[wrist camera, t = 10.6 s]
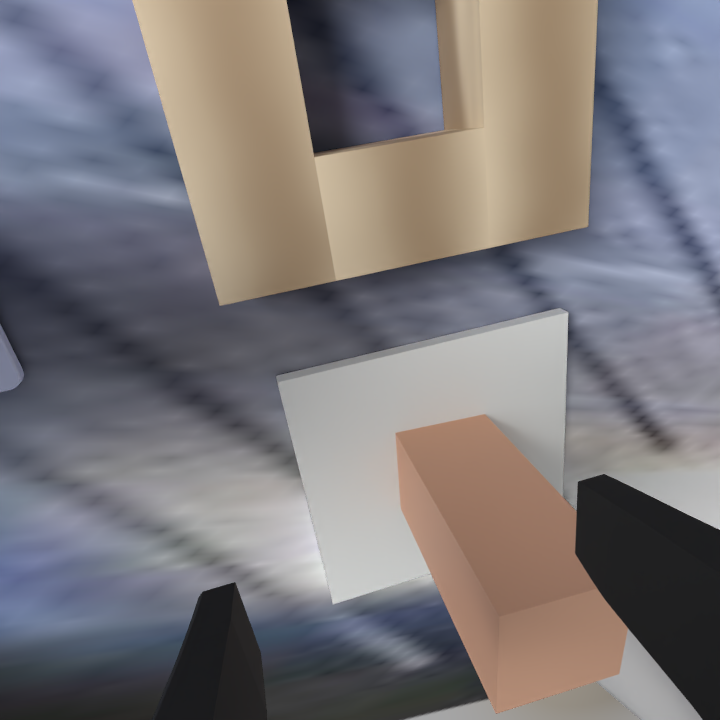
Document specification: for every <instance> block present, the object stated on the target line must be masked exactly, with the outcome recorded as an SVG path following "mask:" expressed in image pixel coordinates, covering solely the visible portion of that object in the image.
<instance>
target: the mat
mask: <svg viewBox="0 0 720 720" xmlns="http://www.w3.org/2000/svg"><path fill="white" fill-rule="evenodd" d="M567 340H568V312H567V311H565V310H563V309H561V308H558V309H553V310H549V311H545V312H541V313H537V314H533V315H528V316H524V317H520V318H516V319H512V320H508V321H503V322H499V323H495V324H491V325H487V326H482V327H478V328H474V329H470V330H466V331H462V332H457V333H453V334H449V335H445V336H441V337H436V338H432V339H428V340H424V341H420V342H416V343H411V344H407V345H403V346H399V347H395V348H390V349H386V350H382V351H378V352H374V353H370V354H365V355H361V356H357V357H353V358H349V359H344V360H340V361H336V362H332V363H328V364H324V365H319V366H315V367H311V368H307V369H303V370H298V371H294V372H290V373H286V374H282V375H278V376H276V379H277V384H278V388H279V392H280V396H281V400H282V404H283V408H284V411H285V415H286V419H287V423H288V427H289V431H290V435H291V439H292V443H293V447H294V451H295V455H296V459H297V463H298V467H299V471H300V475H301V479H302V483H303V487H304V491H305V495H306V499H307V503H308V507H309V511H310V515H311V519H312V523H313V527H314V531H315V535H316V538H317V542H318V546H319V550H320V554H321V558H322V562H323V566H324V570H325V574H326V578H327V582H328V586H329V590H330V594H331V598H332V602H333V604H336V603H339V602H342V601H345V600H349V599H352V598H355V597H358V596H361V595H365V594H368V593H371V592H374V591H377V590H381V589H384V588H387V587H390V586H393V585H397V584H400V583H403V582H406V581H409V580H413V579H416V578H419V577H422V576H425V575H429V574H431V573H430V570H429V568H428V566H427V564H426V562H425V560H424V558H423V555H422V553H421V551H420V549H419V547H418V545H417V542H416V540H415V538H414V536H413V534H412V532H411V530H410V527H409V525H408V523H407V521H406V519H405V517H404V514H403V512H402V510H401V505H400V491H399V477H398V463H397V449H396V435H395V433H397V432H402V431H406V430H411V429H416V428H421V427H426V426H430V425H435V424H440V423H445V422H449V421H454V420H459V419H464V418H469V417H473V416H478V415H483V414H485V415H486V416H487V417H488V418H489V419H490V420H491V421H492V422H493V423H494V424H495V425H496V426H497V427H498V428H499V430H500V431H501V432H502V433H503V434H504V435H505V436H506V437H507V438H508V439H509V440H510V441H511V442H512V443H513V444H514V446H515V447H516V448H517V449H518V450H519V451H520V452H521V453H522V454H523V455H524V456H525V457H526V458H527V459H528V460H529V461H530V463H531V464H532V465H533V466H534V467H535V468H536V469H537V470H538V471H539V472H540V473H541V474H542V475H543V476H544V477H545V479H546V480H547V481H548V482H549V483H550V484H551V485H552V486H553V487H554V488H555V489H556V490H557V491H558V492H559V493H560V495H561V496H562V497H563V481H564V445H565V410H566V375H567Z"/></svg>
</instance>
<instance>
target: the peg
mask: <svg viewBox="0 0 720 720" xmlns="http://www.w3.org/2000/svg"><path fill="white" fill-rule="evenodd" d="M395 435H396V449H397V463H398V477H399V491H400V505H401V510H402V512H403V514H404V517H405V519H406V521H407V523H408V525H409V527H410V530H411V532H412V534H413V536H414V538H415V540H416V542H417V545H418V547H419V549H420V551H421V553H422V555H423V558H424V560H425V562H426V564H427V566H428V568H429V570H430V573H431V575H432V577H433V579H434V581H435V583H436V586H437V588H438V590H439V592H440V594H441V596H442V598H443V601H444V603H445V605H446V607H447V609H448V611H449V614H450V616H451V618H452V620H453V622H454V624H455V626H456V629H457V631H458V633H459V635H460V637H461V639H462V642H463V644H464V646H465V648H466V650H467V652H468V655H469V657H470V659H471V661H472V663H473V665H474V667H475V670H476V672H477V674H478V676H479V678H480V680H481V683H482V685H483V687H484V689H485V691H486V693H487V695H488V698H489V700H490V702H491V704H492V706H493V708H494V710H495V712H496V714H497V713H500V712H503V711H506V710H509V709H513V708H516V707H519V706H522V705H525V704H528V703H531V702H534V701H537V700H540V699H544V698H547V697H550V696H553V695H556V694H559V693H562V692H565V691H568V690H572V689H575V688H578V687H581V686H584V685H587V684H590V683H593V682H596V681H599V680H602V679H606V678H609V677H612V676H615V675H618V674H619V673H620V668H621V662H622V657H623V652H624V647H625V642H626V637H627V631H628V628H627V626H626V625H625V624H624V623H623V621H622V620H621V619H620V618H619V617H618V615H617V614H616V613H615V612H614V610H613V609H612V608H611V607H610V605H609V604H608V603H607V602H606V600H605V599H604V598H603V596H602V595H601V593H600V592H599V590H598V589H597V587H596V586H595V584H594V583H593V581H592V580H591V578H590V577H589V575H588V573H587V572H586V570H585V569H584V567H583V566H582V564H581V562H580V561H579V559H578V558H577V556H576V554H575V541H576V517H577V512H576V510H575V509H574V508H573V507H572V506H571V505H570V504H569V503H568V502H567V501H566V500H565V499H564V498H563V497H562V496H561V495H560V493H559V492H558V491H557V490H556V489H555V488H554V487H553V486H552V485H551V484H550V483H549V482H548V481H547V480H546V479H545V477H544V476H543V475H542V474H541V473H540V472H539V471H538V470H537V469H536V468H535V467H534V466H533V465H532V464H531V463H530V461H529V460H528V459H527V458H526V457H525V456H524V455H523V454H522V453H521V452H520V451H519V450H518V449H517V448H516V447H515V446H514V444H513V443H512V442H511V441H510V440H509V439H508V438H507V437H506V436H505V435H504V434H503V433H502V432H501V431H500V430H499V428H498V427H497V426H496V425H495V424H494V423H493V422H492V421H491V420H490V419H489V418H488V417H487V416H486V415H485V414H483V415H478V416H473V417H469V418H464V419H459V420H454V421H449V422H445V423H440V424H435V425H430V426H426V427H421V428H416V429H411V430H406V431H402V432H397V433H395Z"/></svg>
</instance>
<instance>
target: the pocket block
mask: <svg viewBox="0 0 720 720" xmlns="http://www.w3.org/2000/svg"><path fill="white" fill-rule="evenodd" d="M132 1H133V4H134V8H135V11H136V15H137V18H138V22H139V25H140V29H141V32H142V36H143V39H144V43H145V46H146V50H147V53H148V57H149V60H150V64H151V67H152V71H153V74H154V78H155V81H156V85H157V88H158V92H159V95H160V99H161V102H162V105H163V109H164V112H165V116H166V119H167V123H168V126H169V130H170V133H171V137H172V140H173V144H174V147H175V151H176V154H177V158H178V161H179V165H180V168H181V172H182V175H183V179H184V182H185V186H186V189H187V193H188V196H189V200H190V203H191V207H192V210H193V214H194V217H195V221H196V224H197V228H198V231H199V235H200V238H201V242H202V245H203V249H204V252H205V256H206V259H207V263H208V266H209V270H210V273H211V277H212V280H213V284H214V287H215V291H216V294H217V298H218V301H219V305H220V306H222V305H226V304H231V303H236V302H240V301H245V300H250V299H254V298H259V297H263V296H268V295H273V294H277V293H282V292H287V291H291V290H296V289H301V288H305V287H310V286H315V285H319V284H324V283H329V282H333V281H338V280H343V279H347V278H352V277H357V276H361V275H366V274H371V273H375V272H380V271H385V270H389V269H394V268H399V267H403V266H408V265H412V264H417V263H422V262H426V261H431V260H436V259H440V258H445V257H450V256H454V255H459V254H464V253H468V252H473V251H478V250H482V249H487V248H492V247H496V246H501V245H506V244H510V243H515V242H520V241H524V240H529V239H534V238H538V237H543V236H548V235H552V234H557V233H562V232H566V231H571V230H575V229H580V228H585V227H588V218H589V195H590V172H591V149H592V125H593V102H594V79H595V56H596V32H597V9H598V0H435V6H436V19H437V33H438V47H439V61H440V75H441V89H442V103H443V117H444V130H442V131H437V132H431V133H425V134H419V135H414V136H408V137H402V138H396V139H391V140H385V141H379V142H374V143H368V144H362V145H356V146H351V147H345V148H339V149H334V150H328V151H322V152H316V153H313V147H312V142H311V136H310V131H309V125H308V119H307V114H306V108H305V102H304V97H303V91H302V85H301V80H300V74H299V68H298V63H297V57H296V52H295V46H294V40H293V35H292V29H291V23H290V18H289V12H288V6H287V1H286V0H132Z"/></svg>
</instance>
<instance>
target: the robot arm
mask: <svg viewBox="0 0 720 720" xmlns="http://www.w3.org/2000/svg"><path fill="white" fill-rule="evenodd" d="M23 377H24V372H23V369H22V367H21V365H20V363H19V361H18V359H17V357H16V355H15V353H14V351H13V349H12V347H11V345H10V343H9V341H8V339H7V337H6V334H5V332H4V330H3V328H2V326H1V324H0V392H4V391H9V390H12V389H14V388H16V387H17V386H18V385H19V384H20V383H21V381H22V380H23ZM575 554H576V556H577V558H578V559H579V561H580V562H581V564H582V566H583V567H584V569H585V570H586V572H587V573H588V575H589V577H590V578H591V580H592V581H593V583H594V584H595V586H596V587H597V589H598V590H599V592H600V593H601V595H602V596H603V598H604V599H605V600H606V602H607V603H608V604H609V605H610V607H611V608H612V609H613V610H614V612H615V613H616V614H617V615H618V617H619V618H620V619H621V620H622V621H623V623H624V624H625V625H626V626H627V628H628V629H629V630H630V631H631V633H632V634H633V635H634V636H635V637H636V639H637V640H638V641H639V642H640V643H641V645H642V646H643V647H644V648H645V650H646V651H647V652H648V653H649V654H650V656H651V657H652V658H653V659H654V660H655V662H656V663H657V664H658V665H659V666H660V668H661V669H662V670H663V671H664V672H665V674H666V675H667V676H668V677H669V679H670V680H671V681H672V682H673V683H674V685H675V686H676V687H677V688H678V689H679V691H680V692H681V693H682V694H683V695H684V697H685V698H686V699H687V700H688V702H689V703H690V704H691V705H692V706H693V708H694V709H695V710H696V712H697V713H698V714H699V716H700V717H701V718H702V719H703V720H720V530H719V529H716V528H714V527H712V526H710V525H708V524H706V523H704V522H702V521H700V520H698V519H696V518H693V517H691V516H689V515H687V514H685V513H683V512H681V511H679V510H677V509H675V508H673V507H671V506H669V505H667V504H665V503H663V502H661V501H659V500H657V499H655V498H653V497H651V496H649V495H647V494H645V493H643V492H641V491H639V490H637V489H634V488H632V487H630V486H628V485H626V484H624V483H622V482H620V481H618V480H616V479H614V478H611V477H609V476H607V475H605V474H603V475H599V476H596V477H593V478H589V479H586V480H582V481H579V482H578V493H577V517H576V541H575ZM152 720H267V710H266V699H265V689H264V679H263V669H262V660H261V652H260V649H259V646H258V644H257V641H256V638H255V635H254V633H253V630H252V627H251V624H250V622H249V619H248V616H247V613H246V610H245V608H244V605H243V602H242V599H241V597H240V594H239V591H238V588H237V586H236V583H235V582H234V583H231V584H227V585H224V586H220V587H217V588H214V589H210V590H207V591H203V592H202V594H201V595H200V597H199V598H198V601H197V604H196V607H195V610H194V613H193V616H192V619H191V622H190V625H189V628H188V630H187V633H186V636H185V639H184V641H183V644H182V647H181V649H180V652H179V655H178V657H177V660H176V662H175V665H174V668H173V670H172V673H171V675H170V677H169V680H168V682H167V685H166V687H165V690H164V692H163V694H162V697H161V699H160V702H159V704H158V706H157V709H156V711H155V714H154V716H153V718H152Z"/></svg>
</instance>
